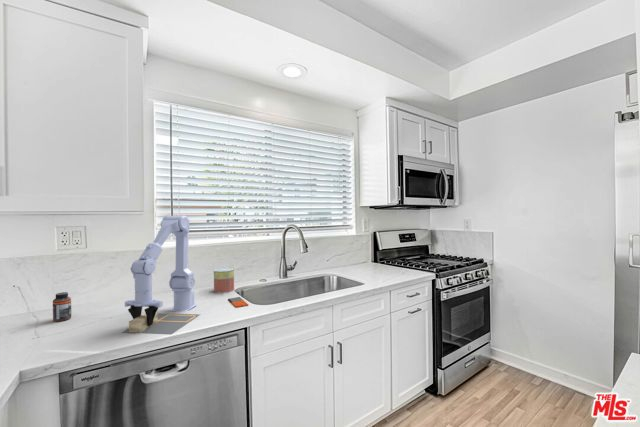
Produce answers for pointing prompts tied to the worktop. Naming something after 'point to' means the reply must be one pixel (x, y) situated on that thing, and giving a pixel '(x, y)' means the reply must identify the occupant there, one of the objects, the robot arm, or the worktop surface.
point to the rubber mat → (168, 323)
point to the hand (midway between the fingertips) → (143, 325)
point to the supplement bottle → (61, 307)
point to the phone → (237, 302)
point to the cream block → (141, 323)
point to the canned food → (223, 280)
